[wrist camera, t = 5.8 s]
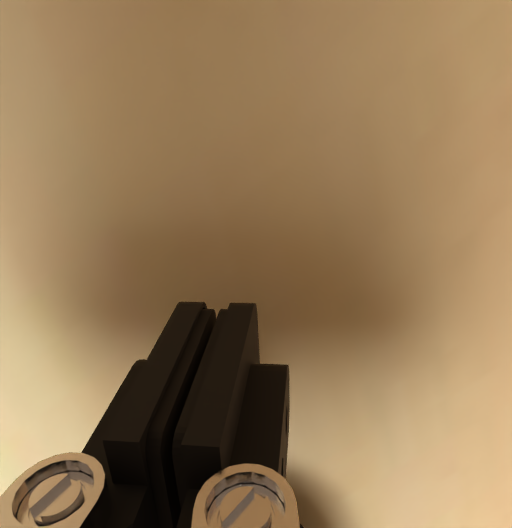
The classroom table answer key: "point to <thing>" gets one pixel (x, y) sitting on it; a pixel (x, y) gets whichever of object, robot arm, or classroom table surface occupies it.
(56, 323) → the classroom table surface
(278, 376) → the robot arm
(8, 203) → the classroom table surface
